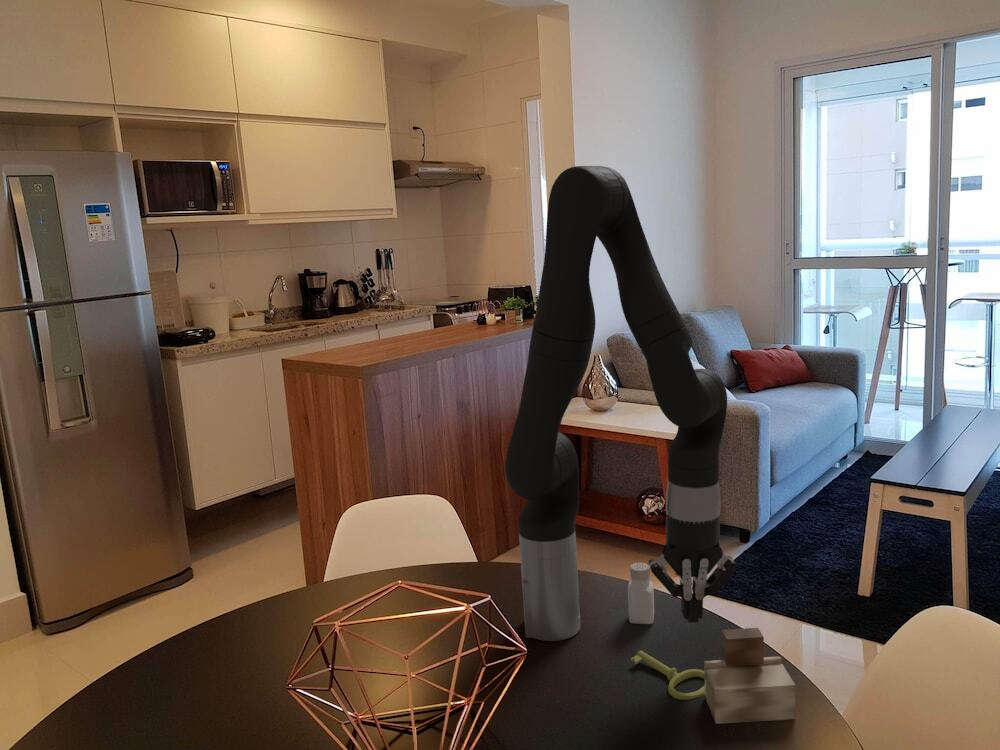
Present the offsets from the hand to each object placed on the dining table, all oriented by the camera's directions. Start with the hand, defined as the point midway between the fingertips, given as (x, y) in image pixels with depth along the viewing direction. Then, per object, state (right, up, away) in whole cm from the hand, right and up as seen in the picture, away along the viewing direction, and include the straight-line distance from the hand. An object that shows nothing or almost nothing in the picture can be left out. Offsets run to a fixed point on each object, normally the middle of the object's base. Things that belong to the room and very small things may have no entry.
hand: (691, 619), depth 120 cm
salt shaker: (-4, -5, +17) cm, 18 cm away
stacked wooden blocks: (+6, -9, -8) cm, 13 cm away
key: (-3, -9, -1) cm, 9 cm away
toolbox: (+6, -9, -9) cm, 14 cm away
